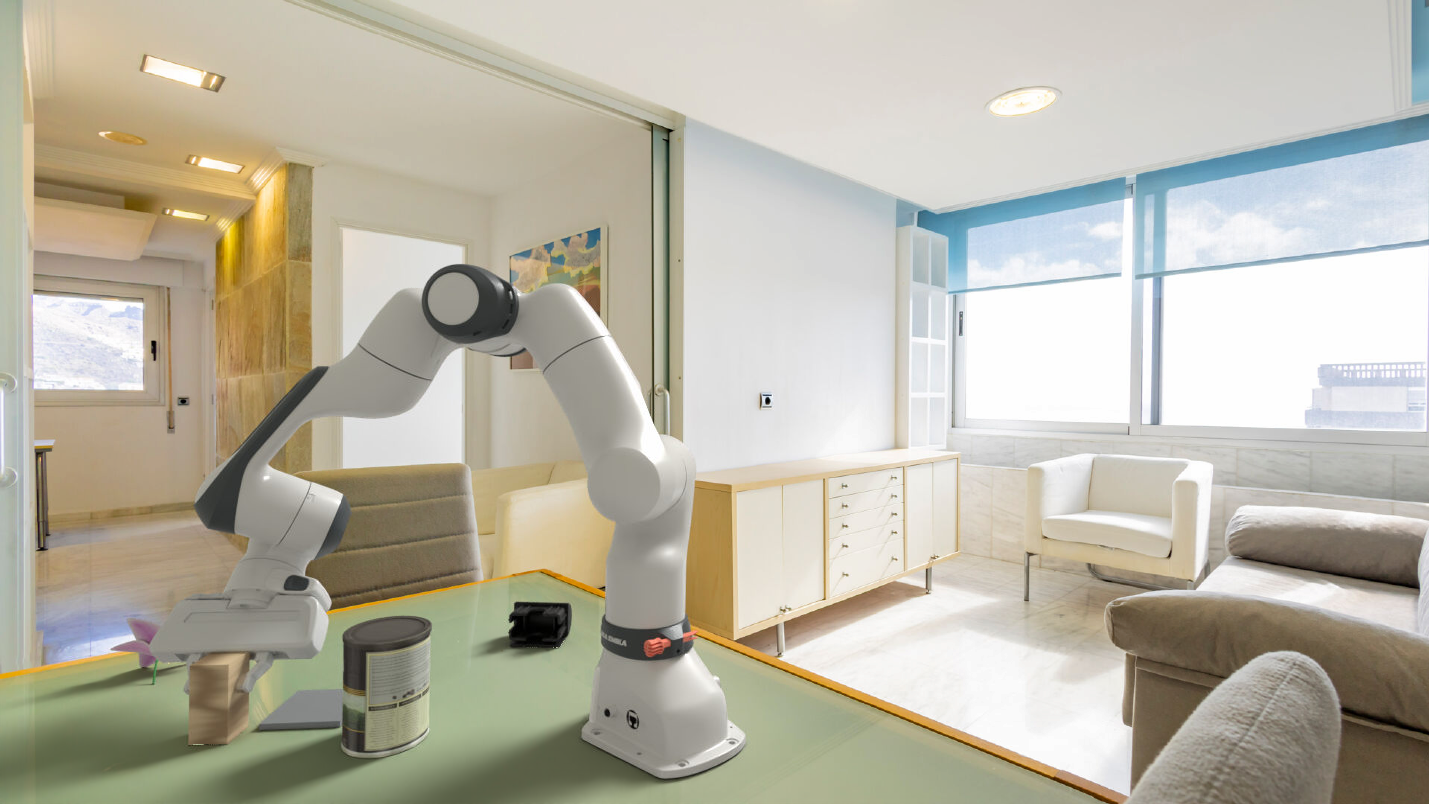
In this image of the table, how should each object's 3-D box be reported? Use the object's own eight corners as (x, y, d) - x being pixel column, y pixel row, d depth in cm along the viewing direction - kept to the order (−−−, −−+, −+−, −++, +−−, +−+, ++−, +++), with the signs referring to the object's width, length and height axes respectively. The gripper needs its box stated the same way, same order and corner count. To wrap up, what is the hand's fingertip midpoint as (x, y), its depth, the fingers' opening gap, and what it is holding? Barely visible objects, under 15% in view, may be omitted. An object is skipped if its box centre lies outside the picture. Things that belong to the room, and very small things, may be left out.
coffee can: (322, 758, 80) (324, 641, 79) (369, 717, 90) (371, 614, 90) (405, 761, 79) (407, 644, 79) (443, 719, 89) (445, 616, 89)
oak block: (248, 726, 87) (249, 650, 87) (227, 744, 82) (228, 664, 82) (211, 728, 86) (212, 651, 86) (188, 746, 82) (189, 665, 82)
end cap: (571, 634, 123) (572, 598, 123) (562, 649, 116) (562, 610, 116) (518, 633, 123) (519, 597, 123) (505, 647, 116) (506, 609, 116)
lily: (227, 673, 105) (228, 613, 109) (163, 672, 95) (167, 606, 98) (154, 696, 105) (158, 635, 109) (82, 697, 94) (89, 630, 98)
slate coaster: (370, 693, 97) (370, 688, 97) (340, 727, 87) (340, 721, 87) (298, 695, 96) (298, 690, 96) (258, 730, 86) (259, 723, 86)
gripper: (171, 582, 90) (113, 684, 80) (330, 580, 92) (292, 679, 82) (192, 605, 94) (140, 704, 85) (343, 602, 97) (309, 698, 87)
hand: (216, 692), depth 84 cm, fingers closed on oak block, 4 cm apart
